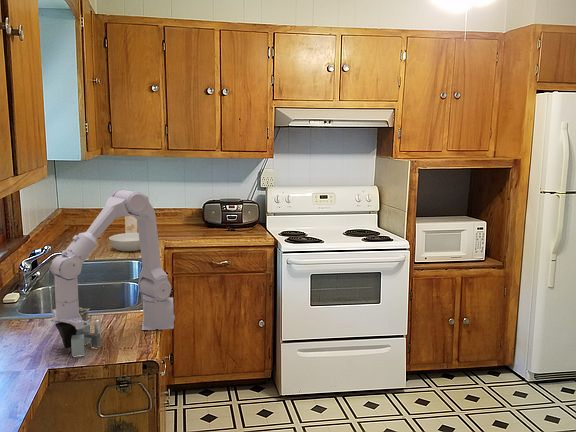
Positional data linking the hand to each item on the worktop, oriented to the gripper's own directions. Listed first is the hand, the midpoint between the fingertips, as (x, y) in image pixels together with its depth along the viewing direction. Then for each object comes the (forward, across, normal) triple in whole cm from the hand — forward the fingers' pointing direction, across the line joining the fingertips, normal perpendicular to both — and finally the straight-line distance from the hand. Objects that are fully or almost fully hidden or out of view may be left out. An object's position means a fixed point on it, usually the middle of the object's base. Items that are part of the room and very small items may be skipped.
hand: (69, 347), depth 148 cm
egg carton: (+2, -24, +12) cm, 27 cm away
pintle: (+1, -1, +9) cm, 9 cm away
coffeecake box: (+1, -121, +96) cm, 155 cm away
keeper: (+1, +2, +5) cm, 6 cm away
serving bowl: (+1, -99, +80) cm, 128 cm away
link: (+1, 0, +3) cm, 3 cm away
